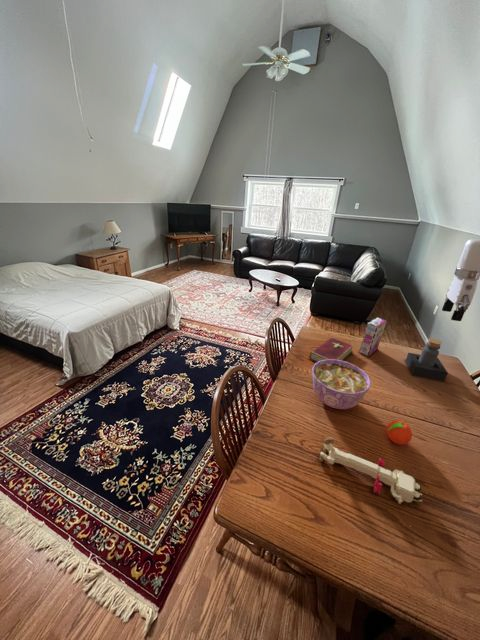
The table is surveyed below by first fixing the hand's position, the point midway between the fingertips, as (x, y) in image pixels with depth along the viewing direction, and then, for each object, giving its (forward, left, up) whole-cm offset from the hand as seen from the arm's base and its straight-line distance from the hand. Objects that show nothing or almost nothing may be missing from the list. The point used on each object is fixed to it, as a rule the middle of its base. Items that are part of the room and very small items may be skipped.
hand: (450, 315), depth 107 cm
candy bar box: (+23, -10, -28) cm, 38 cm away
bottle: (+1, -1, -28) cm, 28 cm away
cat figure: (+32, +62, -28) cm, 75 cm away
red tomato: (+22, +46, -28) cm, 58 cm away
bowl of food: (+40, +33, -28) cm, 59 cm away
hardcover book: (+41, +1, -28) cm, 50 cm away
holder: (+1, -1, -28) cm, 28 cm away
